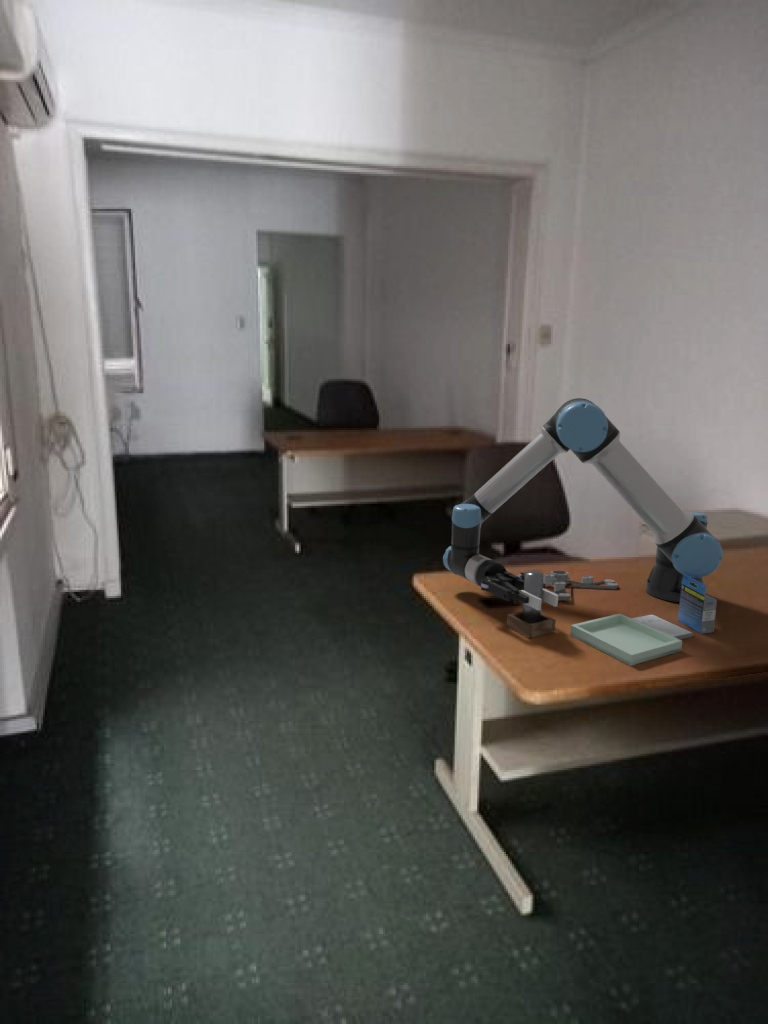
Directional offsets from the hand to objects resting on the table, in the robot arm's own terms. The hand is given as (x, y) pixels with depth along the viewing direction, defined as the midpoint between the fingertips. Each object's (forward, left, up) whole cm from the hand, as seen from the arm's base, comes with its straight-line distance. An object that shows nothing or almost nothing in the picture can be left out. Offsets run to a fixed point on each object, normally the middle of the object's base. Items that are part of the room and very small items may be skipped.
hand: (548, 602), depth 160 cm
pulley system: (-30, -23, -9) cm, 38 cm away
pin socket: (0, -5, -8) cm, 10 cm away
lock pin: (0, -5, -8) cm, 10 cm away
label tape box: (-37, +12, -9) cm, 40 cm away
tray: (-14, +11, -8) cm, 20 cm away
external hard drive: (-28, +9, -9) cm, 31 cm away
